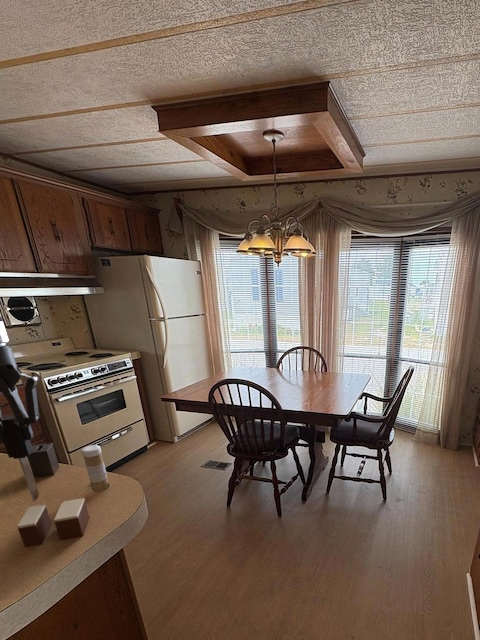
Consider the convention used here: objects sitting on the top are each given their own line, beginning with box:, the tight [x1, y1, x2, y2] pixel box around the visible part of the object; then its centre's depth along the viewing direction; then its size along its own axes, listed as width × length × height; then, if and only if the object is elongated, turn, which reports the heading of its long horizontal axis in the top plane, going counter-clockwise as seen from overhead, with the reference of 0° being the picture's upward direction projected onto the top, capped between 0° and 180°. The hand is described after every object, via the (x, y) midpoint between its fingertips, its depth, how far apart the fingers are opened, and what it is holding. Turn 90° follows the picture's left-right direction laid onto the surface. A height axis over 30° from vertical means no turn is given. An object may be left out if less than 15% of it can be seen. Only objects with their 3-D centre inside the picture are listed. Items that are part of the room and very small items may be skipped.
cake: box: [53, 497, 90, 541], centre depth 84 cm, size 8×5×6 cm, turn 23°
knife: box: [1, 414, 40, 502], centre depth 76 cm, size 3×2×20 cm, turn 23°
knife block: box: [27, 442, 60, 479], centre depth 105 cm, size 6×5×10 cm
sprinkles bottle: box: [81, 444, 110, 492], centre depth 100 cm, size 5×5×14 cm
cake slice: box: [16, 503, 53, 548], centre depth 81 cm, size 8×3×6 cm, turn 23°
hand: (21, 453), depth 75 cm, fingers closed on knife, 2 cm apart
